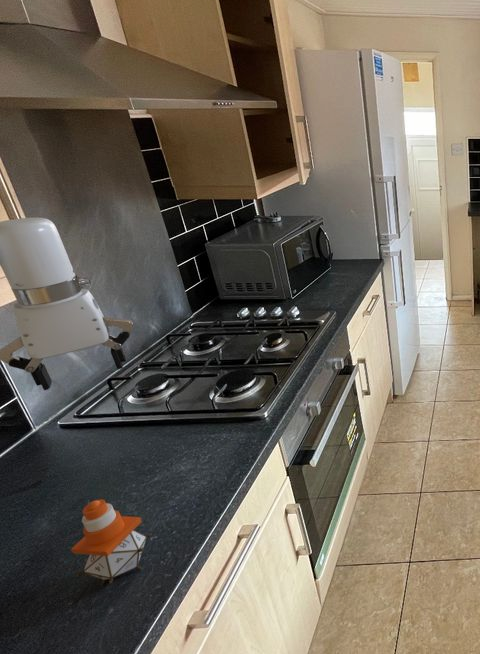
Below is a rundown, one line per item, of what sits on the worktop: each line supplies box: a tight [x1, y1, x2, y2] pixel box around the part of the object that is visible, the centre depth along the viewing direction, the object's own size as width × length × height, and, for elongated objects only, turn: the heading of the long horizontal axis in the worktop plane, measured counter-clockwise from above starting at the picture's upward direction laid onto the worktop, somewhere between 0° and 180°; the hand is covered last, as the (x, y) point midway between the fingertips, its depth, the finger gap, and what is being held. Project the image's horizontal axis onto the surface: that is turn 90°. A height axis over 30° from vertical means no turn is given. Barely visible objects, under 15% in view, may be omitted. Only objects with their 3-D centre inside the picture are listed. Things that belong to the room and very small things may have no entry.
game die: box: [75, 529, 153, 586], centre depth 70 cm, size 9×8×10 cm
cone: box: [70, 499, 143, 556], centre depth 67 cm, size 6×6×8 cm
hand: (85, 375), depth 77 cm, fingers open, 9 cm apart
